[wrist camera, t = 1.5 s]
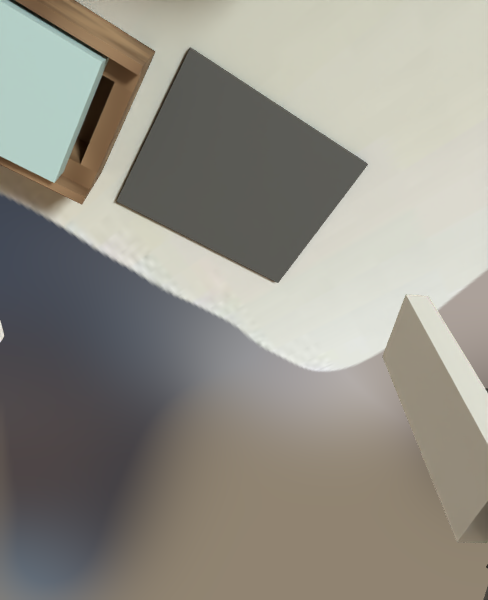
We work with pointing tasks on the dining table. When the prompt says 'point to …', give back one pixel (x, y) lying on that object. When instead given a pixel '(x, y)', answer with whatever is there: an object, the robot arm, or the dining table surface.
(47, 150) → the lid
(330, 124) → the dining table surface
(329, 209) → the mat
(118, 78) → the box
